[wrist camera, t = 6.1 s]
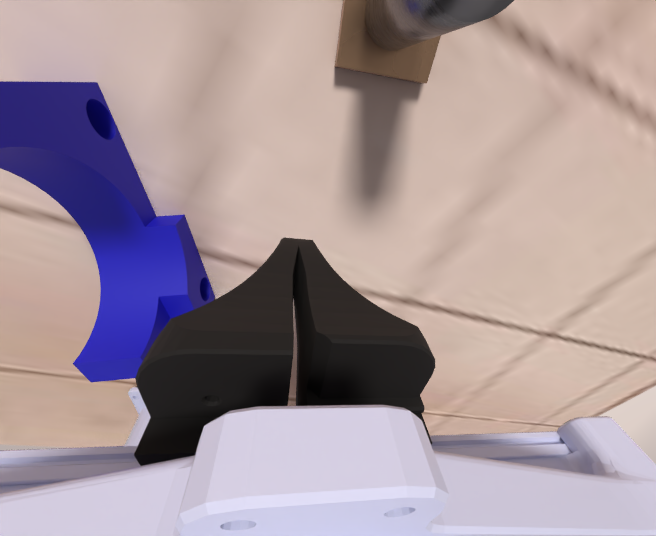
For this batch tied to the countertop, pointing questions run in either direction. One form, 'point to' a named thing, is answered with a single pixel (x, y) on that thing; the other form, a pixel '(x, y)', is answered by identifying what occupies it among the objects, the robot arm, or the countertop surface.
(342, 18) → the post
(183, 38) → the countertop surface
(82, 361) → the cable clip
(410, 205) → the countertop surface
